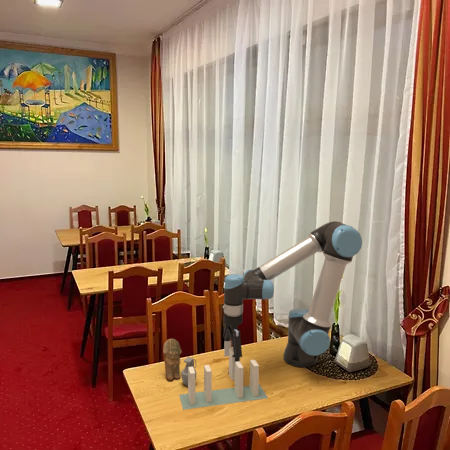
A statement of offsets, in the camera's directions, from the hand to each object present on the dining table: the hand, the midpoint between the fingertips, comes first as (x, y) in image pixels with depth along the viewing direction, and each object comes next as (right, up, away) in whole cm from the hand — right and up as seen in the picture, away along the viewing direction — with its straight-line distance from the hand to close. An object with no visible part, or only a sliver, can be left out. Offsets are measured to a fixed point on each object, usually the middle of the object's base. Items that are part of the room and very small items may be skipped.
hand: (231, 363), depth 172 cm
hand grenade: (-17, -7, -4) cm, 19 cm away
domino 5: (+8, -8, -10) cm, 15 cm away
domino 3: (0, -6, +1) cm, 7 cm away
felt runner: (-3, -9, -13) cm, 16 cm away
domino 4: (+2, -8, -12) cm, 14 cm away
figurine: (-24, -6, +2) cm, 25 cm away
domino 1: (-15, -8, -16) cm, 24 cm away
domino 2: (-9, -8, -15) cm, 19 cm away
